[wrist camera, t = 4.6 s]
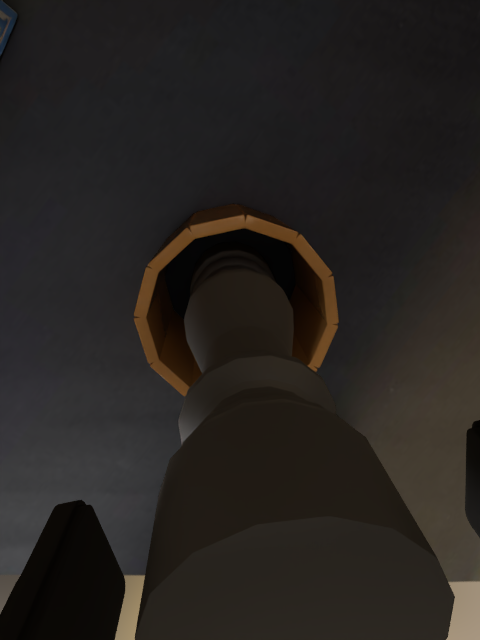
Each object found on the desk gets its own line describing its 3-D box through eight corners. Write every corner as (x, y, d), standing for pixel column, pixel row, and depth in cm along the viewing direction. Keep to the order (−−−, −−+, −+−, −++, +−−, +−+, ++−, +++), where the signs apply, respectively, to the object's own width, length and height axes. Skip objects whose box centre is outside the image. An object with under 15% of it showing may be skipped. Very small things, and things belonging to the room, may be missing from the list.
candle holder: (237, 224, 29) (351, 432, 5) (285, 286, 31) (523, 636, 7) (175, 275, 30) (39, 638, 6) (225, 332, 32) (264, 769, 8)
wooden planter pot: (179, 359, 32) (167, 423, 24) (139, 223, 28) (109, 243, 20) (311, 331, 32) (346, 385, 24) (291, 191, 28) (324, 197, 20)
